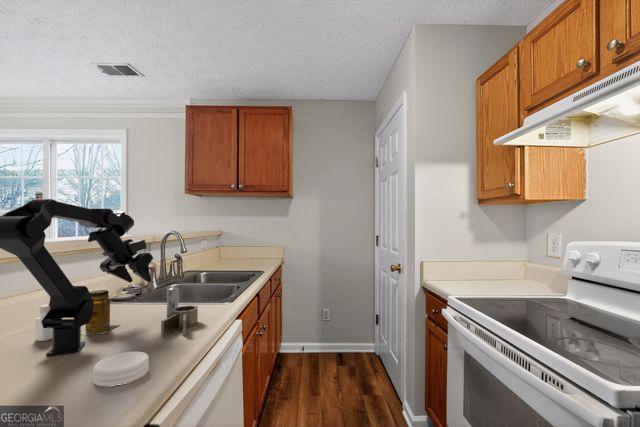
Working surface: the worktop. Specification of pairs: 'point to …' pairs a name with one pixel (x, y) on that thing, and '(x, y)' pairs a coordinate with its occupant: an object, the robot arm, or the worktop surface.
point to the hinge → (180, 319)
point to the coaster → (121, 368)
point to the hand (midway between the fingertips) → (140, 281)
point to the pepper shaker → (41, 332)
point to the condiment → (99, 314)
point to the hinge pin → (172, 300)
